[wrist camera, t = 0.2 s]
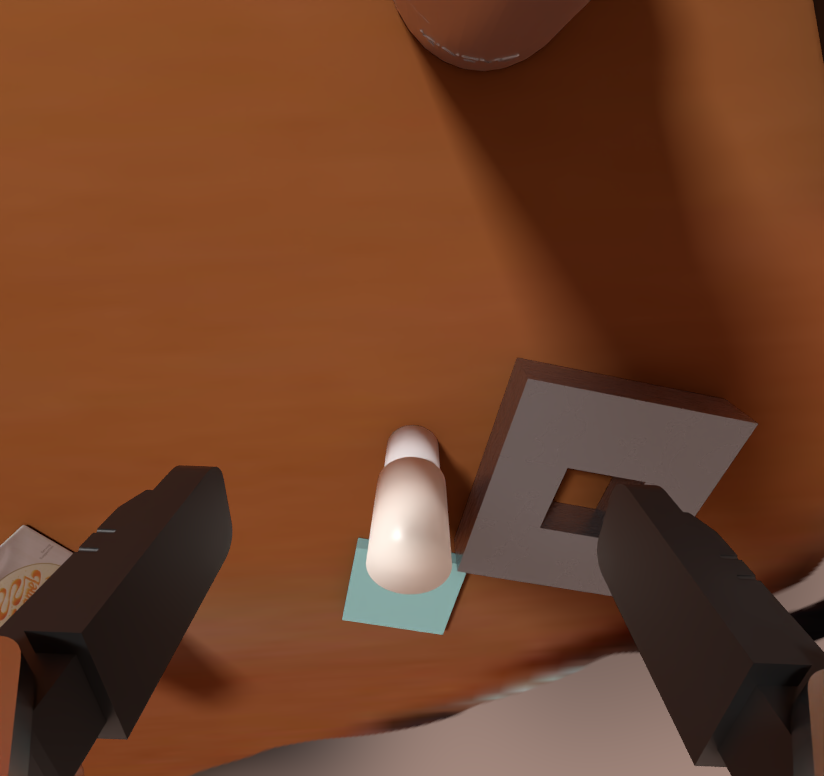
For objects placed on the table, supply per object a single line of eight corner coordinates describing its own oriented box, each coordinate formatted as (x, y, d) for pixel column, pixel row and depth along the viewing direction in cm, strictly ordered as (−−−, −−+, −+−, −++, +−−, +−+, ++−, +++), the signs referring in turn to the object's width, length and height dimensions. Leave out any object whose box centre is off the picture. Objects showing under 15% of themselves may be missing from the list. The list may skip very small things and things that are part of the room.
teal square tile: (358, 537, 33) (356, 547, 33) (467, 555, 34) (468, 565, 33) (344, 609, 37) (342, 619, 37) (442, 624, 38) (442, 634, 37)
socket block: (517, 357, 26) (527, 378, 23) (725, 399, 27) (758, 423, 24) (454, 539, 33) (457, 571, 31) (620, 567, 34) (637, 600, 32)
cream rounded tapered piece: (388, 416, 28) (373, 527, 19) (449, 427, 29) (461, 542, 20) (378, 465, 30) (360, 587, 21) (435, 475, 30) (440, 600, 22)
